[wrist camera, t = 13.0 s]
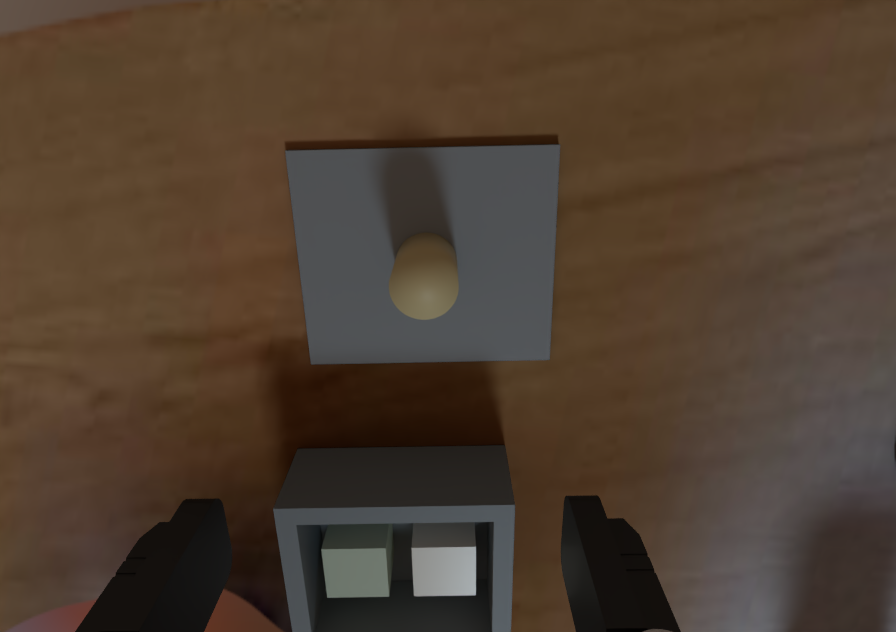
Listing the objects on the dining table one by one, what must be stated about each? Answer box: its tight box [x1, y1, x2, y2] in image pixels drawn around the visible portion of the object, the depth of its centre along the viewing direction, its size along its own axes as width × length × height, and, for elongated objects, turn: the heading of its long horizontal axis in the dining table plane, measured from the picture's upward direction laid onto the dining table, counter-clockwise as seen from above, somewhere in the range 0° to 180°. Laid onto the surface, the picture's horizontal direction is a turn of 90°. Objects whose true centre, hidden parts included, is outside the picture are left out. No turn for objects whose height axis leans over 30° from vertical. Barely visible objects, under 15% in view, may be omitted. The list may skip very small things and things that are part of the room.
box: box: [273, 445, 515, 632], centre depth 39 cm, size 14×12×6 cm
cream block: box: [412, 522, 476, 596], centre depth 39 cm, size 4×4×4 cm
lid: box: [285, 144, 560, 364], centre depth 32 cm, size 15×13×6 cm
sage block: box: [321, 524, 394, 598], centre depth 39 cm, size 4×4×4 cm
